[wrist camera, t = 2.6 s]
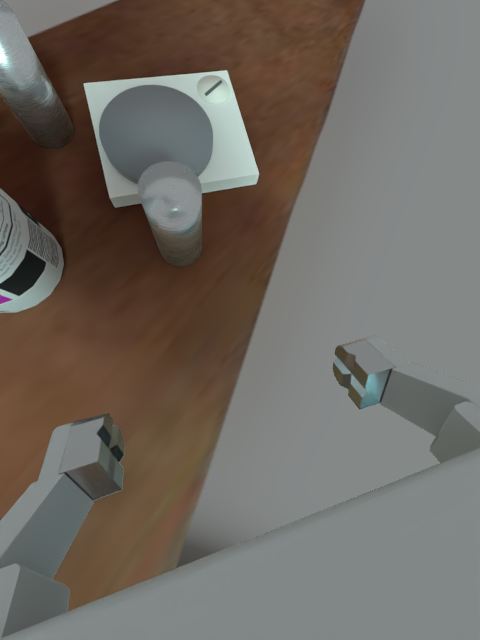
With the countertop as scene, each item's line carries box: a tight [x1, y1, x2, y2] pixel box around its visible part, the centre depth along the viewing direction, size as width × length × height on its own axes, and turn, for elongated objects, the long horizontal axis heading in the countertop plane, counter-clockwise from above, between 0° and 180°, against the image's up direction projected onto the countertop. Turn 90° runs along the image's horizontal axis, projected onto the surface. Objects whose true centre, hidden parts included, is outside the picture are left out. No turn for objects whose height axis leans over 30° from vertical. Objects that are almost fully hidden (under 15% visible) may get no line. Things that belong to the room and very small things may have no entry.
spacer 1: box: [0, 0, 75, 149], centre depth 22 cm, size 4×4×8 cm
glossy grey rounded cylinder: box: [138, 161, 202, 267], centre depth 22 cm, size 4×4×8 cm
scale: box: [83, 71, 259, 208], centre depth 26 cm, size 14×12×2 cm
